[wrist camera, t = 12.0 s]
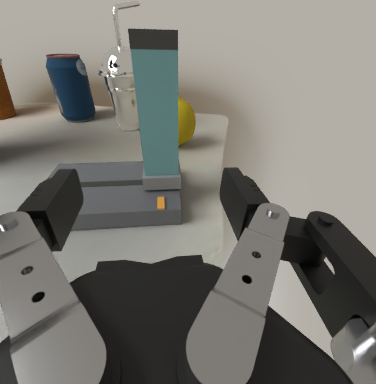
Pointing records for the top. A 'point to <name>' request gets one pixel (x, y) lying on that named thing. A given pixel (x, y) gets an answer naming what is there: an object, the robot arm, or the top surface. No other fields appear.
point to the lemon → (185, 121)
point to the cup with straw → (121, 77)
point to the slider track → (121, 197)
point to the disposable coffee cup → (5, 98)
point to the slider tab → (157, 104)
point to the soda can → (71, 86)
